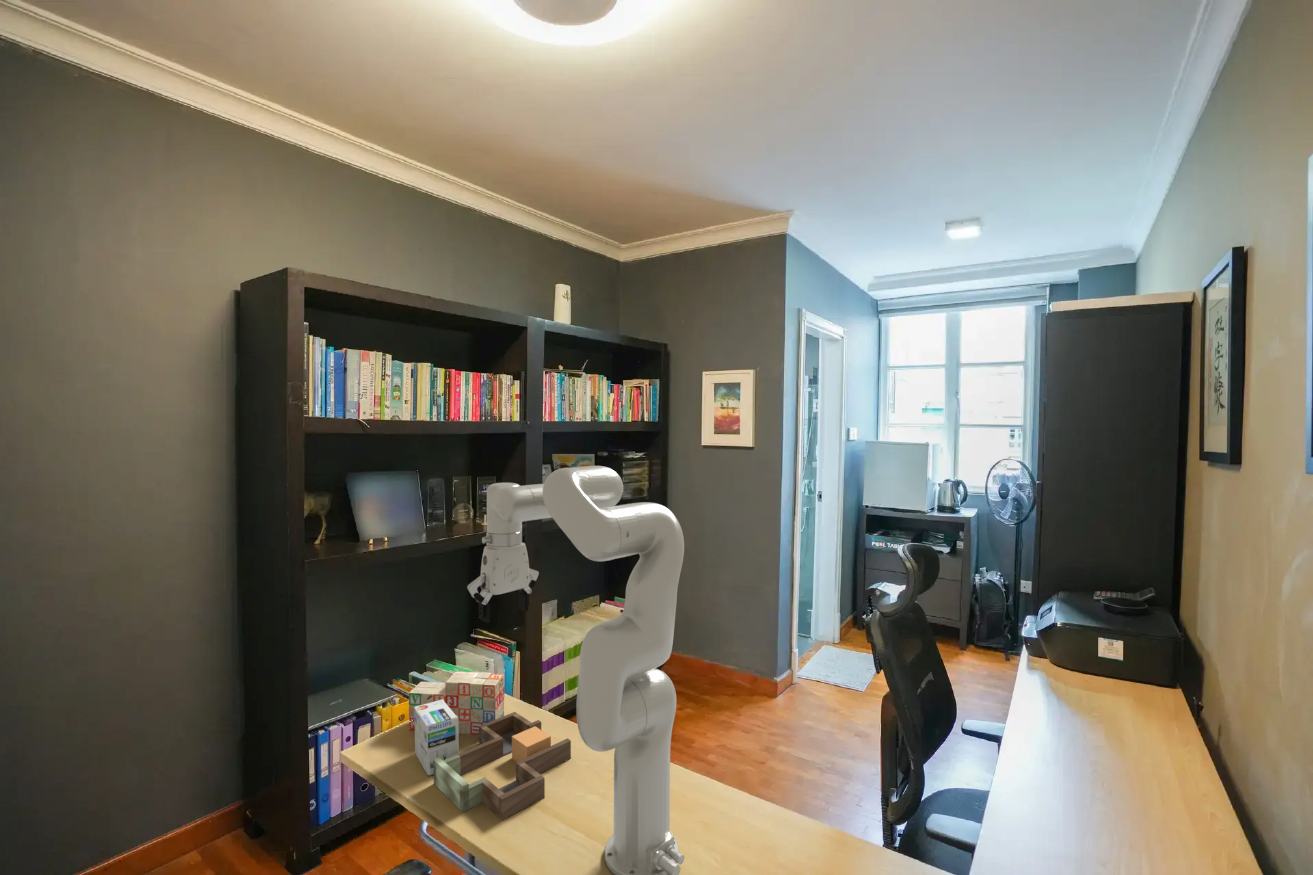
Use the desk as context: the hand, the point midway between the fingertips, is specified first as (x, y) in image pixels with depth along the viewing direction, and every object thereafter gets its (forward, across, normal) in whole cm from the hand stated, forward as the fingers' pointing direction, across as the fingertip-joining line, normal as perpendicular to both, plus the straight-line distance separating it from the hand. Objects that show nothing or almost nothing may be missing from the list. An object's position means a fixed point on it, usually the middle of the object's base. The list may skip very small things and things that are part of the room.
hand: (504, 615), depth 133 cm
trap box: (+30, -4, -7) cm, 31 cm away
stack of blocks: (+31, -3, +17) cm, 35 cm away
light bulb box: (+31, -13, +7) cm, 34 cm away
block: (+31, +2, -7) cm, 31 cm away
